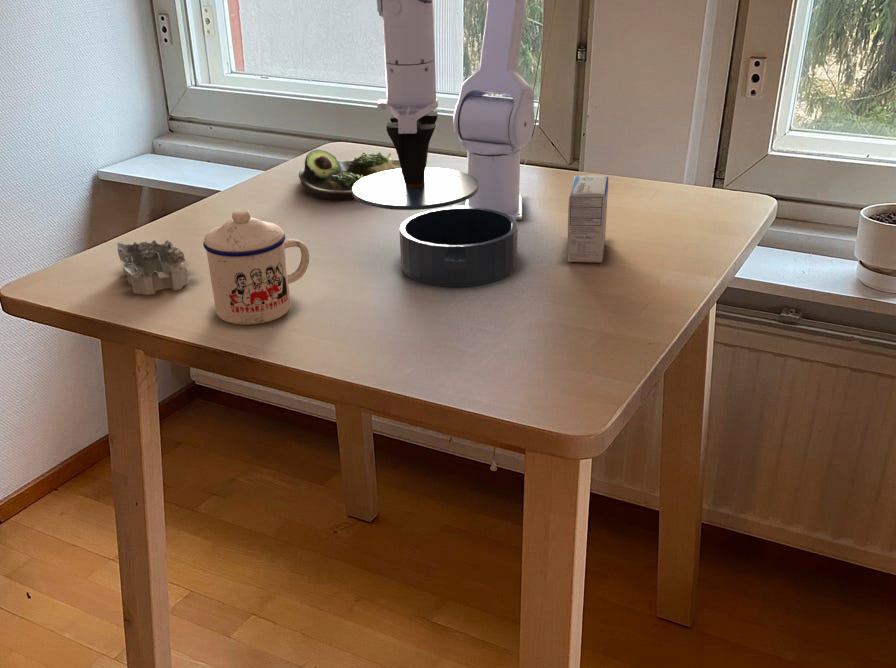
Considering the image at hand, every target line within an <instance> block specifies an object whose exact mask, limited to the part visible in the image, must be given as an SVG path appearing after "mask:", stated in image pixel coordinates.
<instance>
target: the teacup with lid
mask: <svg viewBox="0 0 896 668" xmlns="http://www.w3.org/2000/svg"><path fill="white" fill-rule="evenodd" d="M202 243H203V248H204V249H205V251H206V257H207V263H208V269H209V276H210V282H211V288H212V294H213V295H212V296H213V301H214V307H215V312H216V315H217V317H219V318H220V319H221V320H222V321H224V322H226V323H228V324H229V323H230V324H235V325H241V326H242V325H245V326H247V325H248V326H249V325H260V324H265V323H270V322H273V321H275V320H277V319H280V318H281V317H283V316H284V315H286V314H287V313H288V312H289V311H290V309H291V306H292V305H291V304H292V301H291V294H290V284H292V283H295V282H297V281H299V280H300V279H302V277H303V276H304V275H305V273H306V272H307V270H308V268H309V264H310V252H309V249H308V246H307V245H306V244H305V243H303V241H300V240H299V239H296V238H289V239H288V238H287V239H286V234H285V232H284V230H283V229H282V228H281V227H280V226H279V225H277V224H275V223H273V222H269V221H262V220H260V219H259V218H256V217H251V213H250V211H249V210H247V209H237V210H234V211H233V212H232V214H231V219H229V220H227V221H225V222H224V223H223V224H221V225H219V226H216V227H214V228H212V229H210V230H209V231H208V232H207V233H206V234H205V235H204V238H203V242H202ZM294 247H296V248H299V250H300V255H301V257H300V262H299V265H298V267H297V269H296V270H295V271H294V272H292V273H290V274H288V268H287V260H286V259H287V258H286V250H285V249H288V248H294Z"/></svg>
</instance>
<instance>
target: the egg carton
mask: <svg viewBox="0 0 896 668" xmlns="http://www.w3.org/2000/svg"><path fill="white" fill-rule="evenodd" d="M116 244H117V245H116V246H117V254H118V257H119V260H120V263H121V267H122V270H123V274H124V275H125V276H126V277H127V282H128V284H129V285H131V286H132V291H133V293H134V294H139V295H145V296H150V295H155V294H156V292H157V291H160V290H165V289H170V290H173V291H178V290H182V288H183V287H184V286H186V285H188V284H189V273H188V268H187V266H186V265H185V261H186V259H185V254H184V252H183V251H181V249H180V248H178V247H176V246H174V245H173V242H172V241H169V240H165V242H164V243H161V244H160V243H157V241H156V240H155V239H154V240H152V241H150V242H147V241H143V242H136V241H134V242H133V244H130V243H129V244H127V243H120V242H118V243H116Z"/></svg>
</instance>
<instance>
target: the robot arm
mask: <svg viewBox="0 0 896 668" xmlns="http://www.w3.org/2000/svg"><path fill="white" fill-rule="evenodd" d="M527 1H528V0H487V4H486V13H485V20H484V29H483V36H482V37H483V38H482V44H481V56H480V62H479V69H478V70H477V71H476V72H475V73H473V74H472V75H470V76H469V77H468V78H467V79H466V80H464V81H463V82H462V83H461V85H460V86H461V87H460V93H459V95H458V96H459V97H458V99H457V103H456V105H455V108H454V111H453V119H452V125H453V131H454V134H455V136H456V138H457V140H458V141H459V142H461V143H462V150H466V151H467V152H466V153H467V159H466V161H467V174H469V175H471V176H473V177H474V178H475V179H476V180H477V181H478V184H479V188H478V191H477V193H476V194H475V195H474V196H472V197H471V198H469V199H467V200H465V206H471V207H474V208H484V209H490V210H495V211H499V212H502V213H505V214H507V215H509V216H511V217H512V218H514V220H515V221H520V220H522V219H523V196H522V195H520V182H521V181H520V177H521V176H520V175H521V149H524V148H525V147H526V146H527V144H528V143H529V142H530V140H531V138H532V136H533V132H534V128H535V119H536V118H535V117H536V116H535V108H534V107H535V91H534V89H533V88H532V87H531V86H530V84H529V83H528V82H527V81H526V80H524V78H523V77H522V76H521V75H520V74H519V73H518V69H519V61H520V55H521V47H522V39H523V32H524V25H525V18H526V9H527ZM376 7H377V9H376V10H377V12H378V15H379V16H380V17H381V18H382V27H383V28H382V30H383V46H384V68H385V83H386V84H385V86H386V98H381V99H378V100H377V102H376V108H377V110H386V111H388V112H389V113H390V115H391V116H390V118H389V121H390V122H387V123H386V126H385V127H386V132H387V135H388V137H389V139H390V141H391V142H392V144H393V145H394V149H395V151H396V155H397V157H398V158H397V159H399V162H400V166H401V171H402V175H403V179H404V182H405V184H422V182H423V178H424V173H425V169H426V167H427V164H428V163H427V162H428V153H429V145H430V141H431V140H432V139H431V138H432V136H433V134H434V132H435V130H436V122H437V120H438V114H439V113H438V111H435V110H436V109H437V108H438V107H439V99H438V98H437V83H436V82H437V77H436V75H437V73H436V44H435V43H436V42H435V41H436V39H435V5H434V0H376ZM488 94H493V95H504V96H510V97H511V98H507V97H495V96H486V95H488Z"/></svg>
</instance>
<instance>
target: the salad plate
mask: <svg viewBox="0 0 896 668" xmlns="http://www.w3.org/2000/svg"><path fill="white" fill-rule="evenodd" d="M391 156H392V153H388V155H387V156H385V155H383V154H382V153H381V152H380V151H379V152H377V153H374V152H373V153H369V152H368V153H367V152H363V153H361V155H360V156H358V157H354V159H340V160H339V159H337V157H336V156H335V155H334V154H332V153H330V152H328V151H326V150H323V149H313V150H310V152H308V153H307V154H306V156H305V159H304V167H302V168H301V169H300V170H299V172H298V178H299V181H300V183H301V185H302V187H303V188H304V189H305V191H306V192H307V194H309V196H311V197H313V198H315V199H318V200H322V201H325V202H347V201H355V200H356V199H355V198H354V196H353V194H352V187H353V185H354V184H355V183H356V182H357V181H358V180H360V179H362V178H364V177H366V176H369V175H371V174H375V173H378V172H382V171H387V170H393V169H401V166H400V162H399V158H397V159H395V158H393V159H392V158H391Z"/></svg>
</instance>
